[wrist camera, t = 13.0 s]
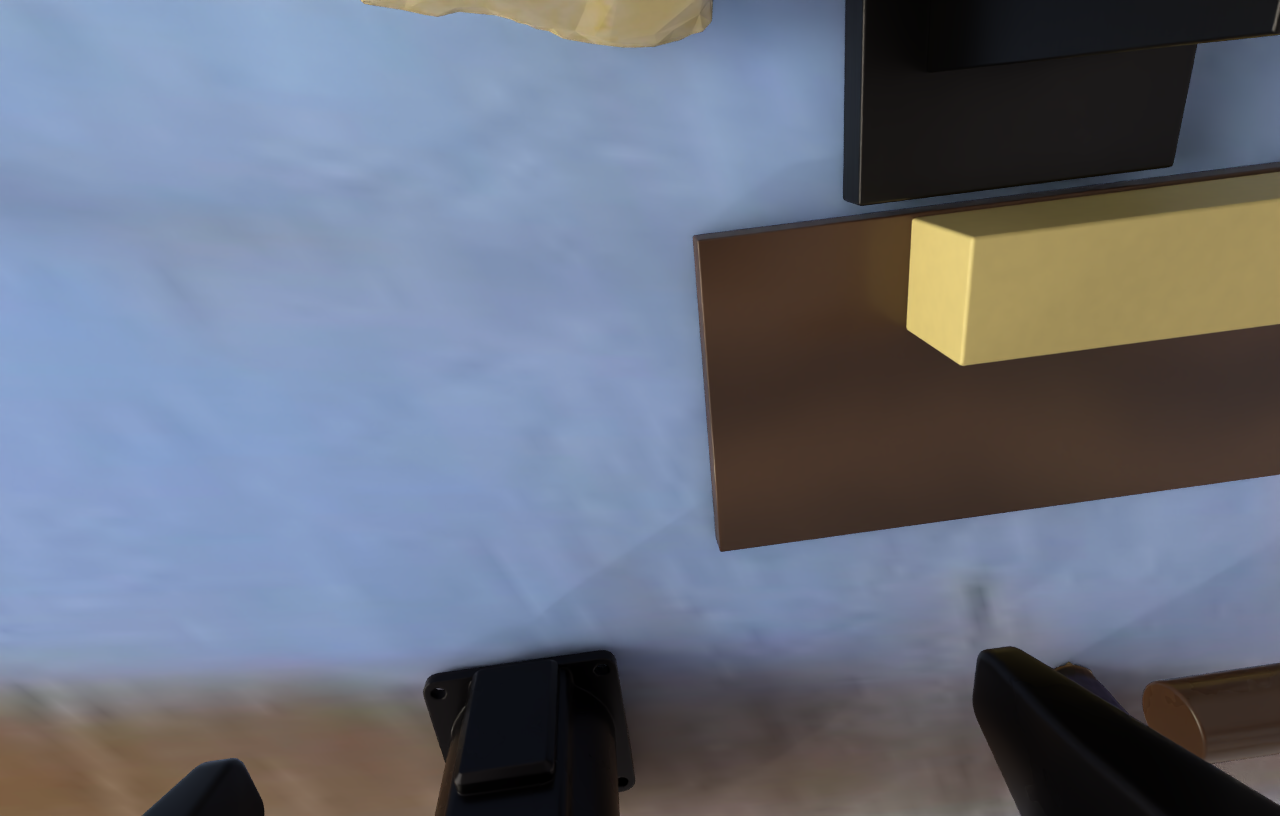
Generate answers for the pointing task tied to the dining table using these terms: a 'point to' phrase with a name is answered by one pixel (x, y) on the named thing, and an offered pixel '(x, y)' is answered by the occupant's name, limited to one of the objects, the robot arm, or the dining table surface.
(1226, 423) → the butter board
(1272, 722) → the grey brown t-shaped piece
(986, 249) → the butter
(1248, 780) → the dining table surface
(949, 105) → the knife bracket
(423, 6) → the cheese
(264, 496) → the dining table surface
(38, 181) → the dining table surface
